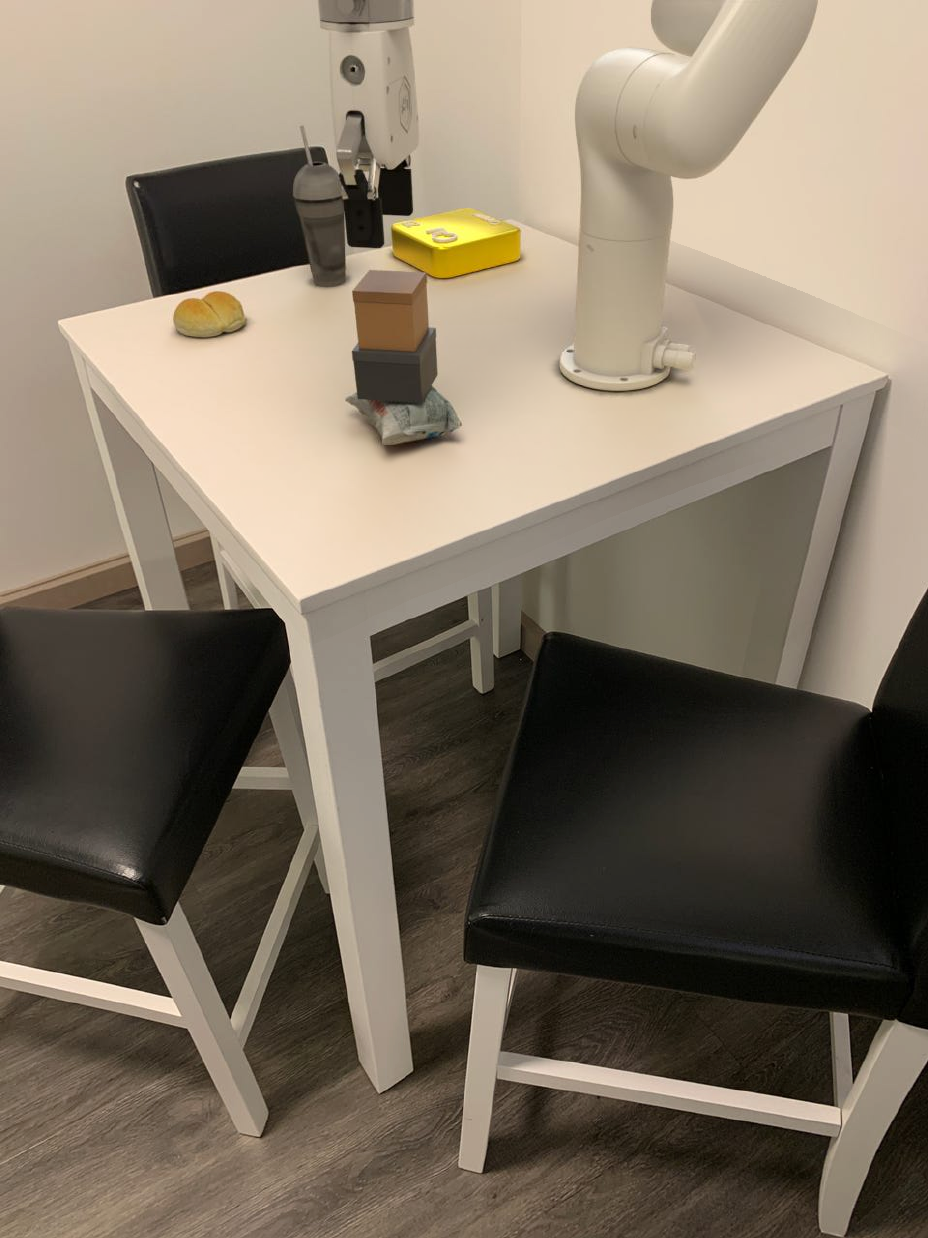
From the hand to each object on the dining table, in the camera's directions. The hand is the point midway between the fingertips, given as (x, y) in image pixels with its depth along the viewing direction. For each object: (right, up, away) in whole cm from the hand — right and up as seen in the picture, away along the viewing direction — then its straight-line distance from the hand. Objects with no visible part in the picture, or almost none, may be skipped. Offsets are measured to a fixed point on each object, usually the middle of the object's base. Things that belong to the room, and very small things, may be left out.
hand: (381, 229), depth 84 cm
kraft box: (+1, -8, +7) cm, 10 cm away
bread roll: (-25, +3, +37) cm, 45 cm away
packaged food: (+1, -16, +13) cm, 20 cm away
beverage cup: (-12, +13, +49) cm, 52 cm away
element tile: (+6, +19, +55) cm, 58 cm away
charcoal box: (+1, -12, +10) cm, 15 cm away
